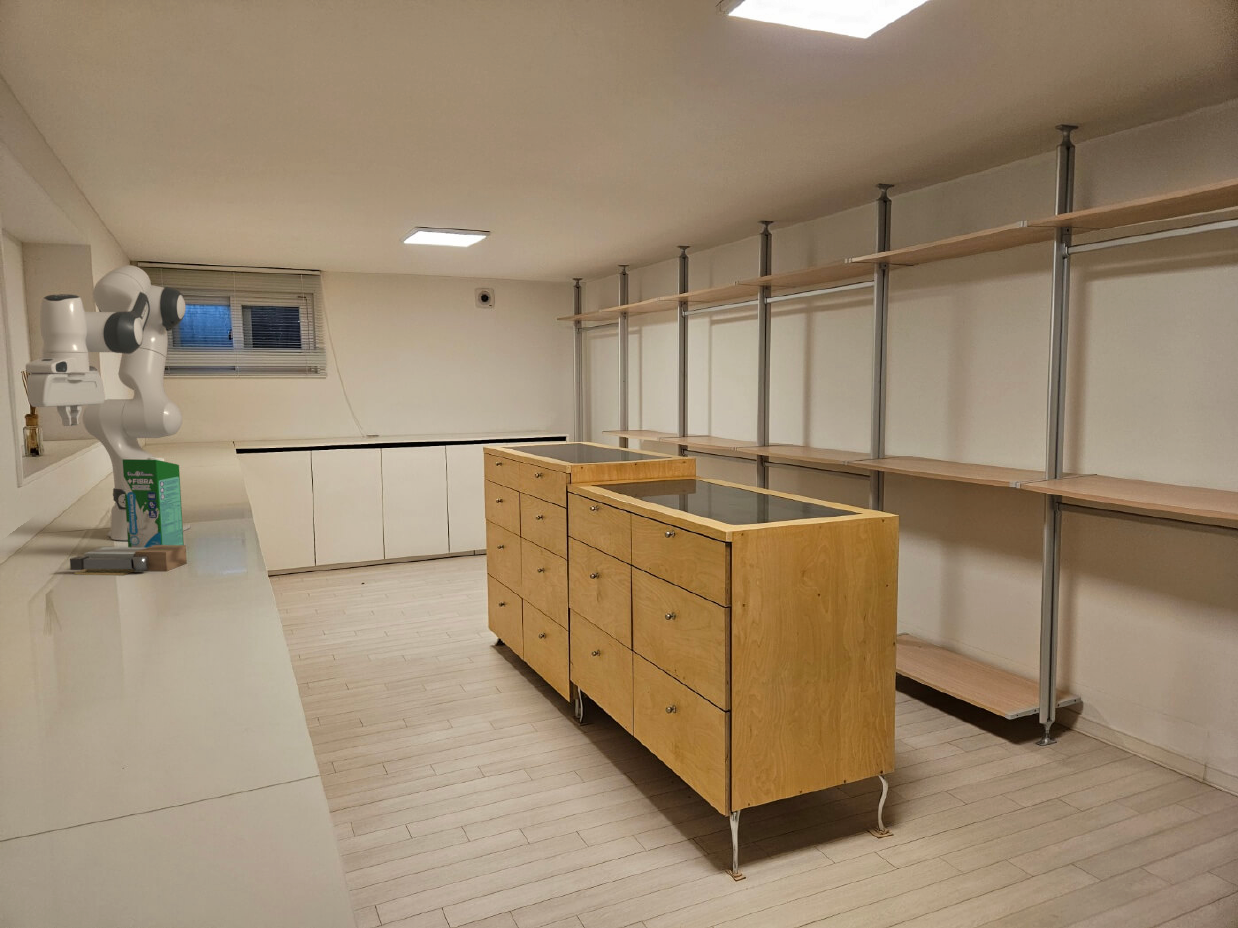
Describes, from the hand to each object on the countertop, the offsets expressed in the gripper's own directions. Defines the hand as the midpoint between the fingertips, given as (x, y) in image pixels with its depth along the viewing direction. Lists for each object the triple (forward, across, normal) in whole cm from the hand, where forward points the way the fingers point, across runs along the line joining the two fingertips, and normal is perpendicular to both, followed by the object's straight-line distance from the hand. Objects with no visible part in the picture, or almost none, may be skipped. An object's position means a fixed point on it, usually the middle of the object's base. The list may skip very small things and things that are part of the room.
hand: (70, 425), depth 191 cm
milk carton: (+34, -18, +7) cm, 39 cm away
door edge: (+34, -4, +11) cm, 36 cm away
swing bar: (+33, +2, +9) cm, 35 cm away
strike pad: (+34, +2, +8) cm, 35 cm away
